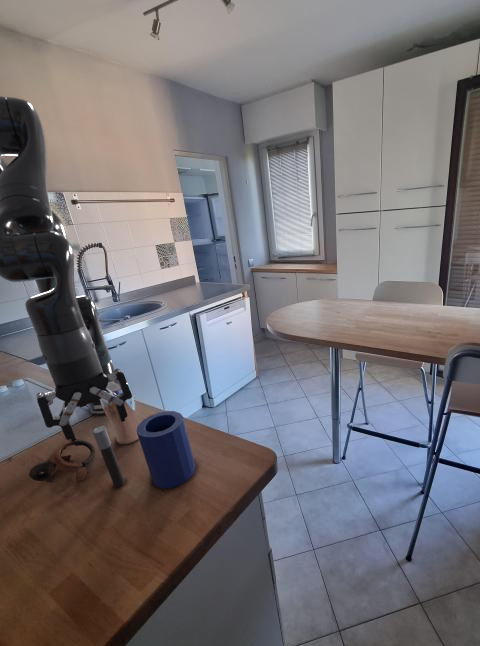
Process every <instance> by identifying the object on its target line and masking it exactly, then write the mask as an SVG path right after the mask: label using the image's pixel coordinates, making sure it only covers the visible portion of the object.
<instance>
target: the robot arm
mask: <svg viewBox="0 0 480 646" xmlns="http://www.w3.org/2000/svg"><path fill="white" fill-rule="evenodd" d="M40 118H41V117H40V115H39V114H38V112H37V110H36V109H35V106H34V105H32V104H31V103H30V102H29V101H27V100H25V99H22V98H18V97H12V96H1V95H0V277H1V278H2V279H4V280H6V281H9V282H13V283H22V282H30V281H31V282H32V281H35V283H36V286H37V289H38V292H39V294H35V295H33V296H31V297H29V298H27V300H26V301H25V304H24V305H25V310H26V313H27V316H28V318H29V320H30V322H31V325H32V328H33V330H34V332H35V335H36V337H37V342H38V347H39V349H40V352H41V355H42V359H43V360H44V361H45V363H46V366H47V369H48V371H49V374H50V376H51V379H52V381H53V384H54V386H55V389H54V390H53V391H49V392H43V391H40V392H38V393H37V394H36V401H37V405H38V407H39V408H38V409H39V411H40V413H41V416H42V418H43V422H44V424H45V427H46V428H48V429H50V428H52V427H56V426H57V427H60V428H61V431H62V432H63V435H64V437H65V439H66V440H67V441H71V440H72V442H73V441H75V440H77V437H76V434H75V432H74V428H73V426H72V424H71V422H70V419H71V416H72V415H73V414H74V412H75V409H76V408H83V407H86V406H87V405H88V409H89V411H90V414H92V415H96V416H99V415H100V416H101V415H106V414H105V412H104V410H103V407H102V405H101V402H100V399H101V398H103V399H105V400H107V401H111V402H113V403H114V404H115V407H116V409H117V412H118V415H119V418H120V420H121V422H123V421H125V418H126V417H127V412H126V409H125V406H124V402H125V401H126V400H127V399H131V398H132V394H133V392H132V393H131V391H132V390H131V391H130V389H131V387H130V385H129V386H128V384H129V382H128V383H127V381H128V380H127V379H126V376H125V373H124V372H123V371H122V370H121V369H120V368H116V369H115V366H114V363H113V360H112V357H111V353H110V351H109V347H108V345H107V342H106V339H105V336H104V333H103V329H102V325H101V321H100V317H99V313H98V310H97V307H96V305H95V302H94V300H93V299H92V298H91V297H90V296H89V295H79V296H77V293H76V285H75V284H76V283H75V253H74V249H73V246H72V244H71V243H70V241H69V239H68V235H67V232H66V229H65V225H64V223H63V221H62V220H61V218H60V217H59V215H57V214H56V213H55V212H54V210H52V207H51V202H50V197H49V193H48V192H49V191H48V145H47V140H46V139H47V138H46V134H45V130H44V127H43V124H42V121H41V119H40ZM5 156H14V157H15V156H16V157H15V158H14V159H12V161H10V162H9V163H8V161H7V160H6V158H5ZM126 380H127V381H126ZM109 381H114V383H119V385H120V388H121V390H122V393H121V394H120V395H117V394H115V393H113V392H112V391H110V390H109V389H107V388H106V387H107V385H108V383H109ZM129 387H130V388H129ZM54 399H58V400H60V401H62V402H63V404H62V407H61V409H60V412H59V414H58V415H55V416H54V415H53V413H52V411H51V408H50V406H52V405H53V404H54Z"/></svg>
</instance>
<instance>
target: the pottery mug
mask: <svg viewBox="0 0 480 646" xmlns="http://www.w3.org/2000/svg"><path fill="white" fill-rule="evenodd" d="M70 446H75V447H79V446H83V447H86V448H87V449H88V450H89V452H90V454H89V456H88V457H87V458H86V459H84V460H83V461H81V464H82V465H80V466H77V463H76V462H71V456H72V455H71V454H66V455H62V453H63V451H65V450H66V449H67V448H68V447H70ZM96 462H97V453H96V449H95V447H94V445H93V444H92V443H91V442H89V441H87V440H85V439H76V440H75V441H73V442H72V440H71V439H70V440H67V441H66V442H64V443H62V444H61V445H59V446H58V447H57V448H56V449H55V450H53V452H52V453H51V454H50V455H49V457H48V458H47V459H46V460H45V461H42V462H39V463H37V464H35V465H34V466H32V468H30V470H29V472H28V477H29V478H30V479H31V480H32V481H35V482H44V481H45V482H48V483H53V482H54V479H53V474H54V472H55V471H56V470H59V471H62V472H67V473H71V474H73V473H74V474H76V477H75V481H76V482H80V481H84V480H85V479H86V477H87V474H89V473H90V472H91V471H92V469H93V468H94V466H95V464H96Z"/></svg>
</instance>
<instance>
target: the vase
mask: <svg viewBox="0 0 480 646" xmlns="http://www.w3.org/2000/svg"><path fill="white" fill-rule="evenodd" d="M136 431H137V435H138V438H139V439H138V441H139V443H140V447H141V450H142V454H143V457H144V459H145V462H146V466H147V468H148V471H149V474H150V478H151V479H152V483H153V484H154V486H156V487H157V488H160V489H173V488H177V487H178V486H181V485H183V484H185V483H186V482H187V481H189V480H190V478H191V477H193V475H194V474H195V471H196V465H195V459H194V455H193V451H192V447H191V443H190V438H189V434H188V430H187V426H186V423H185V418H184V416H183V415H182V414H181V413H180V412H178V411H175V410H166V411H165V410H164V411H161V412H160V411H159V412H156V413H154V414H151V415H149V416H147V417H146V418H144V419H143V420H141V422H140V423H138V427H137V430H136Z"/></svg>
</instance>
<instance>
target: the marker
mask: <svg viewBox="0 0 480 646" xmlns="http://www.w3.org/2000/svg"><path fill="white" fill-rule="evenodd" d="M92 433H93V437H94V439H95V442H96V444H97V447H98V449H99V450H100V453H101V456H102V459H103V461H104V463H105V466H106V469H107V471H108V474H109V476H110V479H111V482H112V484H113V487H114V488H120V487H122V486H123V485H124V484H125V479H124V476H123V473H122V471H121V468H120V466H119V465H120V464H119V463H118V460H117V457H116V454H115V452H114V449H113V446H112V442H111V439H110V436H109V433H108V431H107V428H106V427H105V425H103V426H98V427H96V428H94V429H93V430H92Z"/></svg>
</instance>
